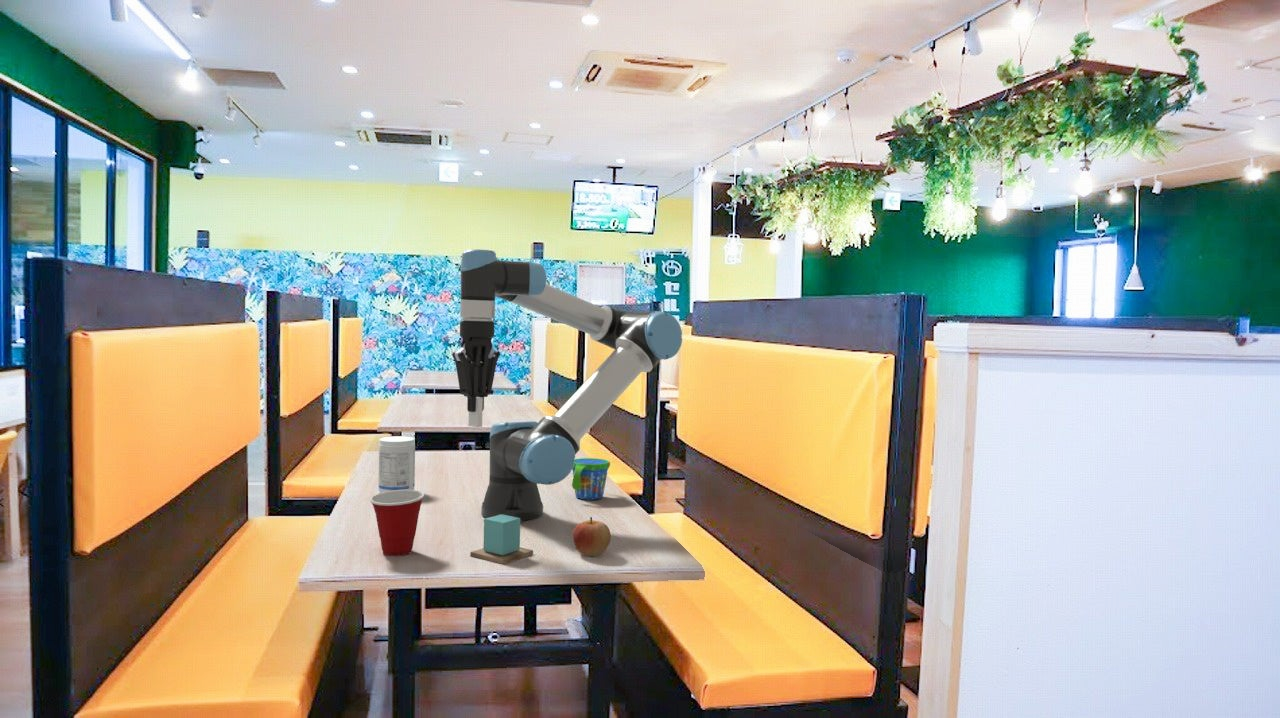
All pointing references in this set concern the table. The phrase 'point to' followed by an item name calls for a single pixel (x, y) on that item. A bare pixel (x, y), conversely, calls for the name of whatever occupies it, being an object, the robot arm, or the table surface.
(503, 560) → the peg stand
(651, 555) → the table surface
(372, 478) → the table surface
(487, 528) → the teal rectangular block
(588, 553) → the apple
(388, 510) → the plastic cup
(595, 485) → the snack cup
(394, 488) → the supplement tub
